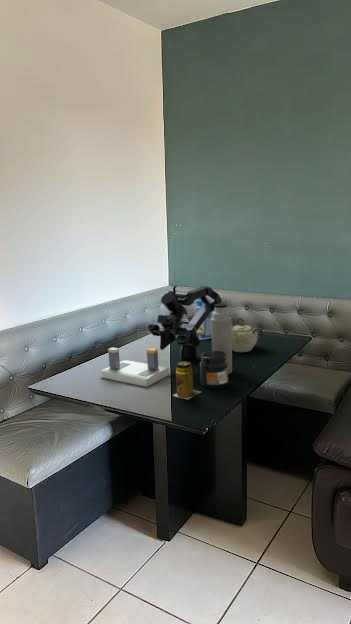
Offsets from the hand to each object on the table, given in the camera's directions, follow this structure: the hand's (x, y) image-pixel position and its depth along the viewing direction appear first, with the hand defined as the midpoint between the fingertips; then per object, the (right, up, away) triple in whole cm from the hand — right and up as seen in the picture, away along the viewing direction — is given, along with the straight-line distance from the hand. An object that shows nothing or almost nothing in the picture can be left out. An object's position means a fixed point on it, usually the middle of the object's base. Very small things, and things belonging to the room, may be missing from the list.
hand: (161, 349), depth 202 cm
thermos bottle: (+25, -9, 0) cm, 27 cm away
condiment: (+10, -15, -22) cm, 28 cm away
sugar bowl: (+37, -3, +28) cm, 46 cm away
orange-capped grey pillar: (-3, -8, -4) cm, 9 cm away
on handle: (-19, -8, 0) cm, 20 cm away
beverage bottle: (+21, +2, +52) cm, 56 cm away
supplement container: (+21, -12, -14) cm, 28 cm away
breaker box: (-11, -11, -1) cm, 15 cm away
